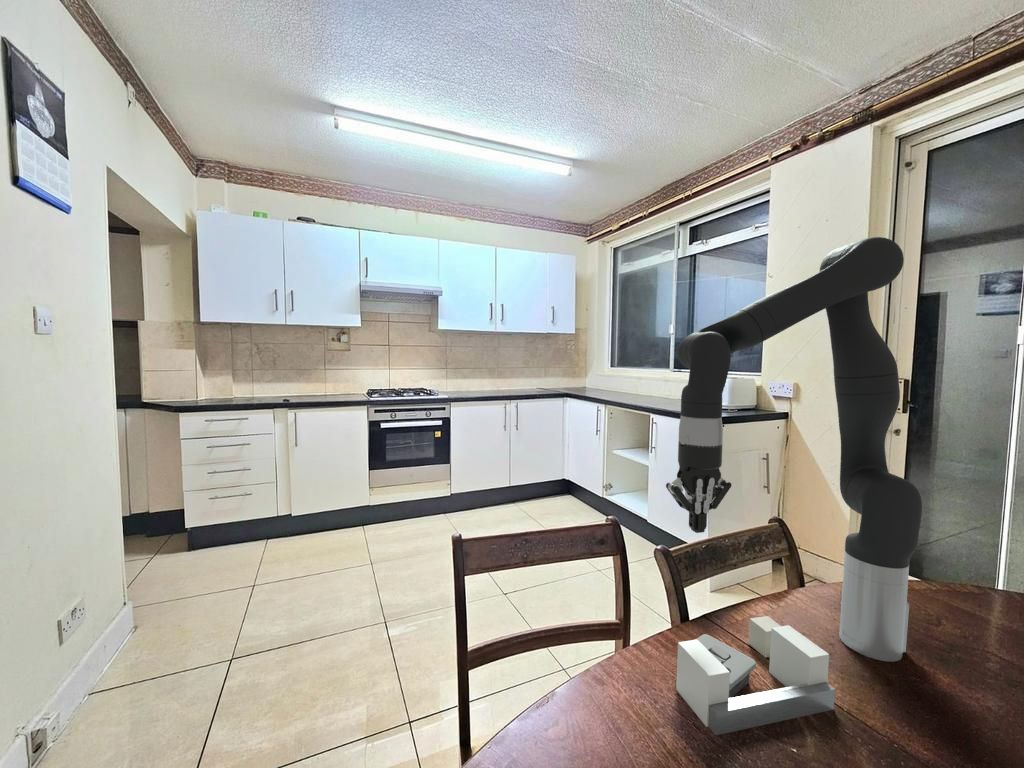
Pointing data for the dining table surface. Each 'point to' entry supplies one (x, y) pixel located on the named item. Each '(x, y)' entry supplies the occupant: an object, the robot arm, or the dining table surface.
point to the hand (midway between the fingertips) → (697, 531)
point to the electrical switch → (730, 662)
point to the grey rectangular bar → (770, 707)
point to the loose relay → (761, 634)
